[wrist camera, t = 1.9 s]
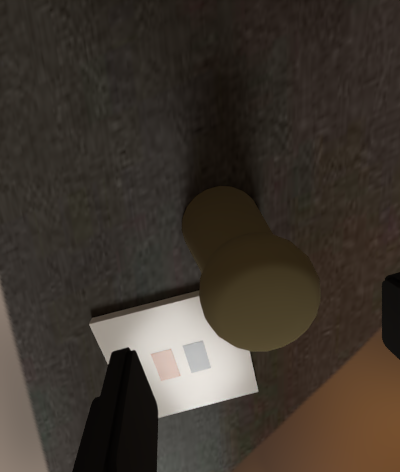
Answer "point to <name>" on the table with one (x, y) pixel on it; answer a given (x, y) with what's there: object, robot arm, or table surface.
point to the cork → (248, 272)
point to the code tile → (178, 353)
